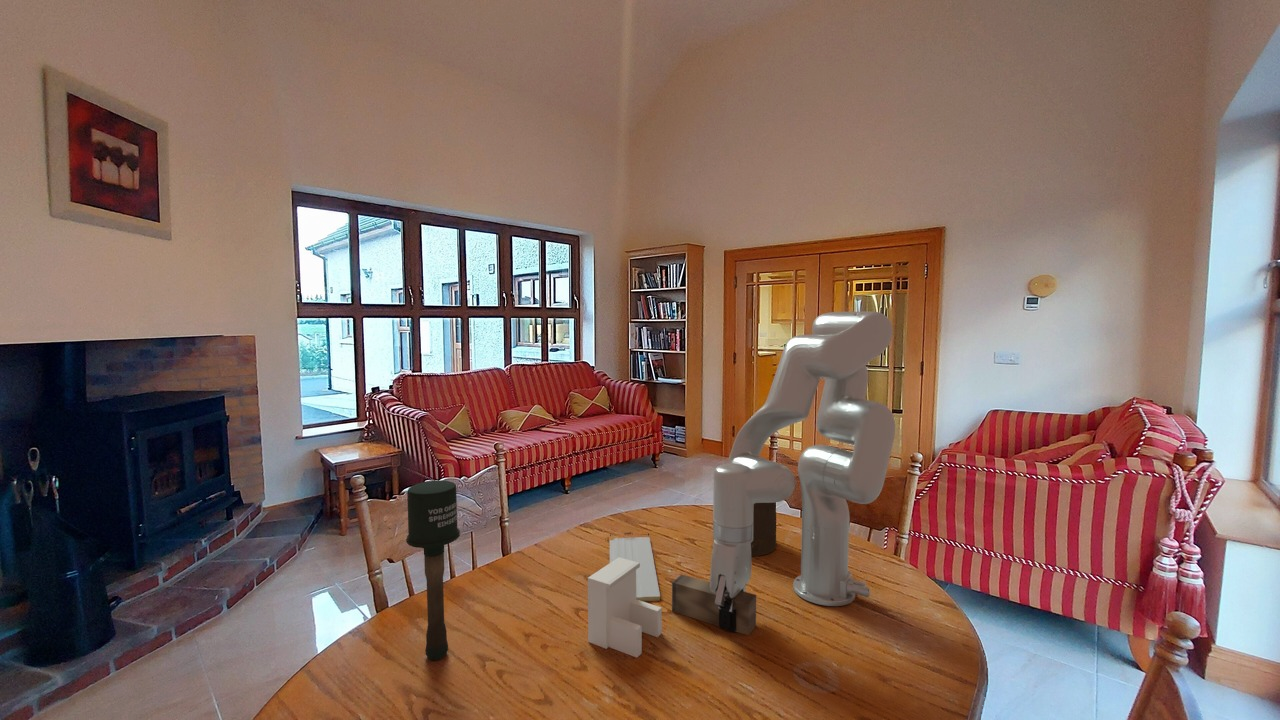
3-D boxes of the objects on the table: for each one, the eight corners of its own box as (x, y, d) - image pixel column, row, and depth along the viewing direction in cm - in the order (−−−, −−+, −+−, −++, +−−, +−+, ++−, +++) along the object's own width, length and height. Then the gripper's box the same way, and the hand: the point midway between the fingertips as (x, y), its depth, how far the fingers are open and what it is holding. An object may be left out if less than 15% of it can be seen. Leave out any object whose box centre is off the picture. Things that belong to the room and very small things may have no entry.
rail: (755, 625, 103) (756, 594, 103) (748, 635, 100) (748, 604, 99) (681, 602, 112) (681, 574, 111) (672, 611, 108) (672, 582, 108)
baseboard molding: (602, 605, 112) (660, 603, 113) (602, 591, 112) (660, 590, 112) (604, 543, 143) (649, 542, 143) (604, 533, 143) (649, 531, 143)
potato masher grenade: (432, 677, 88) (426, 497, 86) (399, 660, 93) (393, 488, 91) (473, 650, 95) (469, 484, 93) (441, 635, 100) (436, 476, 98)
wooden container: (740, 529, 151) (741, 451, 150) (787, 545, 140) (788, 461, 139) (706, 544, 141) (706, 461, 140) (753, 562, 130) (754, 472, 129)
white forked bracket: (663, 631, 101) (663, 569, 100) (634, 659, 93) (634, 592, 92) (619, 616, 106) (618, 557, 106) (588, 641, 98) (587, 577, 97)
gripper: (731, 513, 111) (730, 599, 113) (695, 541, 97) (695, 639, 98) (766, 520, 107) (765, 609, 109) (735, 550, 93) (734, 652, 95)
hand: (732, 622), depth 104 cm, fingers closed on rail, 4 cm apart
